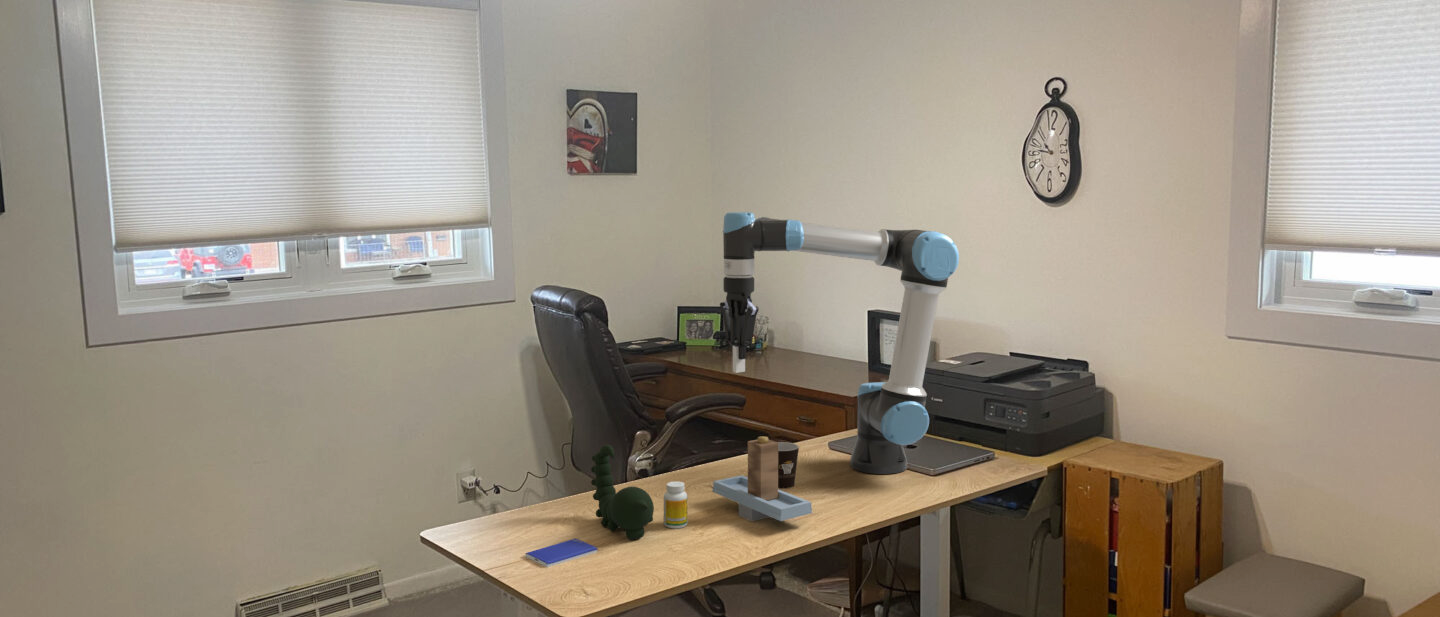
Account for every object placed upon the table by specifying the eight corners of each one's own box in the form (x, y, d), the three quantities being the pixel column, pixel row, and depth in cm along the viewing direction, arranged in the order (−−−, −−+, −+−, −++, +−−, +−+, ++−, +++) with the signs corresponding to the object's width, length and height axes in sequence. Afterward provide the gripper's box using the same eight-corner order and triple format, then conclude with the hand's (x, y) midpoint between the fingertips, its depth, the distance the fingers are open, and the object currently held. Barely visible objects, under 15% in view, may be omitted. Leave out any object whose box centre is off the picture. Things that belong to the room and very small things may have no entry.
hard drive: (574, 537, 222) (525, 552, 214) (597, 547, 216) (547, 562, 208) (574, 544, 222) (525, 559, 214) (597, 554, 216) (547, 569, 208)
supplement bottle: (660, 523, 234) (659, 482, 233) (681, 519, 236) (681, 479, 235) (669, 530, 229) (669, 488, 228) (691, 526, 232) (691, 485, 230)
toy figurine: (583, 525, 237) (628, 550, 216) (578, 444, 236) (624, 460, 215) (620, 519, 242) (669, 542, 220) (616, 439, 241) (664, 454, 219)
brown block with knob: (747, 496, 239) (747, 437, 237) (764, 492, 242) (764, 434, 240) (760, 501, 235) (761, 441, 233) (778, 497, 238) (778, 438, 236)
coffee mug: (799, 480, 267) (799, 442, 265) (798, 490, 258) (798, 451, 257) (754, 479, 268) (754, 441, 267) (751, 489, 259) (751, 450, 258)
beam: (712, 503, 248) (712, 481, 247) (742, 497, 253) (742, 474, 252) (780, 534, 227) (780, 509, 226) (811, 526, 232) (812, 502, 231)
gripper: (710, 274, 253) (711, 369, 256) (742, 279, 243) (742, 377, 246) (735, 273, 258) (735, 366, 261) (767, 277, 247) (767, 374, 250)
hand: (738, 371), depth 253 cm, fingers closed
